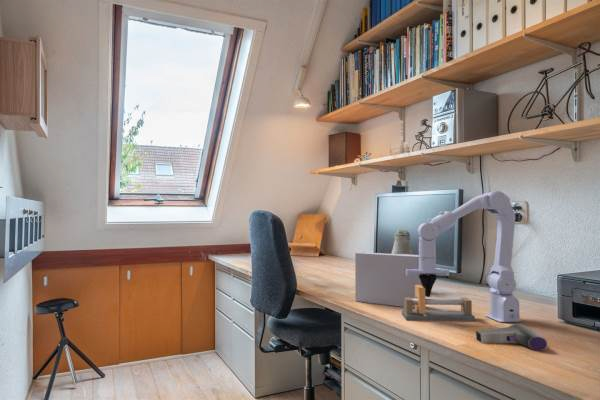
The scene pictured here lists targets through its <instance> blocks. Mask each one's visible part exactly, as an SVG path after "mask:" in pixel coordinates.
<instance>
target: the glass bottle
mask: <svg viewBox="0 0 600 400" xmlns="http://www.w3.org/2000/svg"><path fill="white" fill-rule="evenodd" d="M393 238H394V242H393V246H392V250H391V254H409V255H413V251H412V248H411V234H410V232H409V231H408V230H403V229H401V230H396V231H395V232H394V236H393Z"/></svg>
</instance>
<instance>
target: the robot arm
mask: <svg viewBox="0 0 600 400" xmlns="http://www.w3.org/2000/svg"><path fill="white" fill-rule="evenodd" d="M480 209H481V210H486V211H488V212H489V213H491V214H492V215H493V216H494V217H495V218H496V219H497V229H496V230H497V231H496V239H495V248H494V251H495V252H494V263H493V265H492V266H491V268H490V272H489V274H488V276H487V279H486V281H487V282H486V283H487V285H488V286H489V287H490V289H489V313H488V314H487V313H485V314H484V316H485V317H487V318H490V319H492V320H495V321H497V322H499V323H514V322H515V323H516V322H518V323H519V322H523V320H522V319H521V318H520V302H519V301H520V300H519V299H518V298H517V297H516V296H514V291H515V290H516V287H517V282H516V280H515V272H514V270H513V268H512V260H513V259H512V256H513V247H514V246H513V245H514V237H515V224H516V213H515V211H514V209H513V206H512V204H511V198H510V197H509V196H508V195H507V194H505V193H504V192H502V191H501V190H500V191H499V190H496V191H491V192H490V191H487V192H484V193H482V194H479V195H477V196H475V197H473V198H471V199H470V200H469V201H467V202H465V203H464V204H462V205H460V206H459V207H458V208H455V209H454V210H453V211H447V210H445V211H440V212H439V213H438V215H436V216H435V217H433V218H428V219H427V222H424V223H421V224H420V225H418V228H417V230H416V234H417V236H418V255H419V269H406V275H407V276H410V275H419V278H420V280H421V283H422V285H423V287H424V288H425V298H426V297H427V298H431V295H432V294H431V293H432V290H433V287H434V284H435V282H436V281H437V276H442V277H443V276H444V277H445V276H446V277H450V270H449V269H441V268H440V269H438V268H437V260H436V259H437V257H436V256H437V251H436V250H437V247H436V246H437V245H436V238H437V237H438V235H440V234H442V233H443V232H445V231H447V230H448V229H450V228H453V227H454V226H455V225H456V223H457V220H459V219H460V218H462V217H464V216H466V215H468V214H470V213H472V212H474V211H476V210H480ZM423 273H425V274H423Z"/></svg>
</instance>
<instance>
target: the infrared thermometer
mask: <svg viewBox="0 0 600 400" xmlns="http://www.w3.org/2000/svg"><path fill="white" fill-rule="evenodd" d="M475 334H476V335H475V336H476V340H477V341H478V342H479V343H481V344H482V343H489V344H490V343H491V344H520V345H523V346H525V347H527V348H530V349H532V350H535V351H542V350H545V349H546V348H547V346H548V342H547V340H546V339H545V338H544V337H543V336H542V335H540V334H539V333H537V332H536V331H535V330H534V329H532V328H531V327H529V326H526V325H524V324H521V323H519V324H512V325H510V326H507V327H506V326H505V327H500V328H499V327H498V328H489V329H481V330H476V332H475Z"/></svg>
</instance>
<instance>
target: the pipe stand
mask: <svg viewBox="0 0 600 400" xmlns="http://www.w3.org/2000/svg"><path fill="white" fill-rule="evenodd" d="M413 304H414V305H418V299H411V298H410V297H404V307H403V309H402V310H401V315H402V316H403V318H404V319H405V320H406V321H433V322H434V321H443V322H444V321H446V322H448V321H449V322H451V321H452V322H455V321H457V322H475V321H476V320H475V319H476V318H475V315H474V314H472V313H473V312H472V311H473V309H472V308H473V307H472V306H473V305H472V304H473V302H472V300H471V299H470V298H467V297H460V299H459V298H425V306H427V305H429V306H430V305H431V306H432V305H433V306H434V305H436V306H437V305H439V306H451V305H452V306H460V310H426V309H425V314H419V313H418V312H417V311H416V309H414V308H413Z"/></svg>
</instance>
